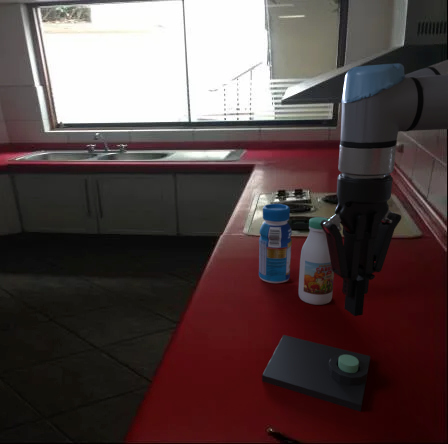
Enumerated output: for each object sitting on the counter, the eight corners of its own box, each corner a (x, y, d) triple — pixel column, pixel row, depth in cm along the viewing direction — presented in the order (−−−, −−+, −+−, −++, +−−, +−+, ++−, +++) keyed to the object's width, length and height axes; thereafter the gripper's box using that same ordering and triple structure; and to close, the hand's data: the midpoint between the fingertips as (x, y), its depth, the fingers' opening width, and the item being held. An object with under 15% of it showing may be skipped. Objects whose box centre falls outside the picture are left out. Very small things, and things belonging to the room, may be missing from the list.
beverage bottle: (251, 276, 114) (252, 206, 108) (273, 268, 119) (275, 200, 112) (274, 287, 108) (277, 213, 101) (297, 278, 112) (300, 207, 106)
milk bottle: (291, 297, 102) (295, 220, 96) (309, 287, 107) (313, 212, 101) (321, 309, 96) (326, 227, 90) (338, 297, 101) (344, 219, 95)
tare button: (359, 364, 73) (360, 357, 72) (356, 375, 70) (357, 367, 70) (339, 359, 75) (340, 352, 74) (336, 370, 72) (337, 362, 71)
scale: (370, 362, 77) (371, 348, 76) (361, 412, 66) (362, 396, 65) (283, 340, 85) (283, 327, 85) (261, 381, 74) (262, 367, 73)
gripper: (384, 165, 68) (371, 295, 75) (311, 173, 65) (306, 307, 72) (421, 173, 61) (403, 315, 68) (342, 183, 58) (332, 330, 65)
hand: (353, 311), depth 70 cm, fingers closed
